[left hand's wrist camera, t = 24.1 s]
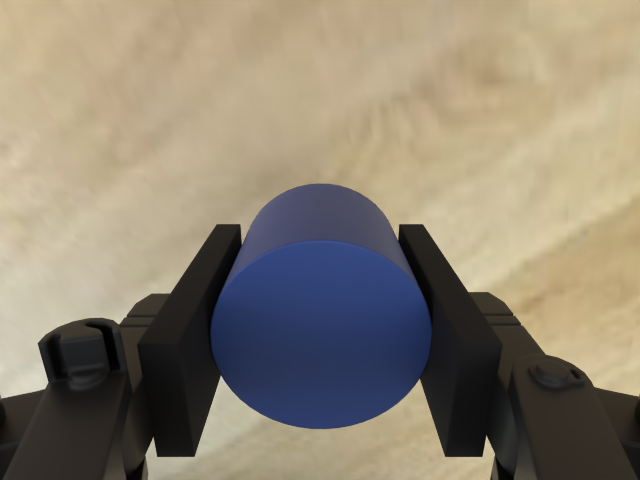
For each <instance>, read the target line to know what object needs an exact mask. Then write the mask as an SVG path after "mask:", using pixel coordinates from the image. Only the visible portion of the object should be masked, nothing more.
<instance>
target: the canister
mask: <svg viewBox="0 0 640 480" xmlns="http://www.w3.org/2000/svg"><path fill="white" fill-rule="evenodd" d="M431 336H432V321H431V315H430V312H429V309H428V306H427V303H426V300H425V298H424V296H423V294H422V292H421V290H420V287H419V285H418V283H417V281H416V279H415V277H414V274H413V272H412V270H411V268H410V266H409V264H408V261H407V259H406V257H405V255H404V253H403V251H402V248H401V246H400V244H399V242H398V240H397V238H396V235H395V233H394V231H393V229H392V227H391V225H390V223H389V221H388V219H387V218H386V216H385V215H384V214H383V212H382V211H381V210H380V209H379V208H378V207H377V206H376V205H375V204H374V203H373V202H372V201H371V200H369V199H368V198H367V197H365V196H363V195H362V194H360V193H358V192H356V191H354V190H351V189H349V188H346V187H342V186H338V185H332V184H309V185H304V186H300V187H296V188H293V189H291V190H288V191H286V192H284V193H282V194H280V195H278V196H277V197H276V198H274V199H273V200H271V201H270V202H269V203H268V204H267V205H266V206H265V207H264V208H263V209H262V210H261V211H260V212H259V213H258V215H257V216H256V218H255V219H254V221H253V223H252V224H251V227H250V229H249V231H248V233H247V235H246V238H245V240H244V242H243V244H242V247H241V249H240V251H239V253H238V256H237V258H236V260H235V262H234V264H233V267H232V269H231V271H230V273H229V276H228V278H227V280H226V282H225V285H224V287H223V289H222V291H221V293H220V296H219V298H218V300H217V303H216V305H215V308H214V311H213V315H212V319H211V328H210V340H211V348H212V353H213V357H214V360H215V363H216V365H217V368H218V370H219V372H220V374H221V376H222V377H223V379H224V381H225V382H226V384H227V385H228V386H229V388H230V389H231V390H232V391H233V392H234V393H235V394H236V395H237V396H238V397H239V398H240V399H241V400H242V401H243V402H244V403H246V404H247V405H248V406H249V407H251V408H252V409H254V410H255V411H257V412H259V413H260V414H262V415H264V416H266V417H268V418H270V419H273V420H275V421H278V422H281V423H284V424H288V425H292V426H296V427H302V428H310V429H331V428H341V427H346V426H351V425H355V424H358V423H362V422H365V421H367V420H369V419H372V418H374V417H376V416H378V415H380V414H382V413H384V412H386V411H387V410H389V409H390V408H392V407H393V406H394V405H396V404H397V403H398V402H400V401H401V400H402V399H403V398H404V397H405V396H406V395H407V394H408V393H409V392H410V391H411V389H412V388H413V387H414V386H415V385H416V383H417V382H418V380H419V378H420V377H421V375H422V373H423V371H424V369H425V367H426V365H427V362H428V359H429V354H430V345H431Z"/></svg>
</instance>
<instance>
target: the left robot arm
mask: <svg viewBox="0 0 640 480" xmlns="http://www.w3.org/2000/svg"><path fill="white" fill-rule="evenodd" d="M398 242H399V244H400V246H401V248H402V251H403V253H404V255H405V257H406V259H407V261H408V264H409V266H410V268H411V270H412V272H413V274H414V277H415V279H416V281H417V283H418V285H419V287H420V290H421V292H422V294H423V296H424V298H425V300H426V303H427V306H428V309H429V312H430V315H431V321H432V336H431V345H430V354H429V359H428V362H427V365H426V367H425V369H424V371H423V373H422V375H421V377H420V380H421V383H422V387H423V390H424V393H425V396H426V399H427V402H428V405H429V408H430V411H431V414H432V417H433V420H434V424H435V427H436V430H437V433H438V436H439V439H440V442H441V445H442V448H443V451H444V454H445V457H482V456H483V451H484V445H485V440H486V435H487V437H488V439H489V442H490V444H491V446H492V448H493V450H494V452H495V457H494V462H493V468H492V473H491V478H490V480H640V395H639V397H637V396H633V395H628V394H623V393H618V392H613V391H608V390H603V389H600V388H596V387H594V386H593V384H592V382H591V381H590V379H589V378H588V377H587V375H586V374H585V373H584V372H583V371H582V370H580V369H579V368H577V367H576V366H575V365H573V364H571V363H569V362H567V361H564V360H562V359H560V358H557V357H553V356H549V355H546V354H545V353H544V352H543V351H542V349H541V348H540V347H539V346H538V344H537V343H536V342H535V340H534V339H533V338H532V337H531V335H530V334H529V333H528V332H527V330H526V329H525V328H524V327H523V326H521V323H520V322H519V320H518V319H517V318H516V317H515V316H513V313H512V312H511V310H510V309H509V308H508V307H507V305H506V304H505V303H504V302H503V301H501V300H500V299H498V298H497V297H495V296H493V295H492V294H490V293H489V292H468V291H467V290H466V288H465V287H464V285H463V284H462V282H461V281H460V279H459V278H458V276H457V275H456V273H455V272H454V270H453V269H452V267H451V266H450V264H449V263H448V261H447V260H446V258H445V257H444V255H443V254H442V252H441V251H440V249H439V248H438V246H437V245H436V243H435V242H434V240H433V239H432V237H431V236H430V234H429V233H428V231H427V230H426V228H425V227H424V225H423V224H399V237H398ZM241 247H242V241H241V227H240V224H217V225H216V226H215V228H214V229H213V231H212V232H211V234H210V235H209V237H208V238H207V240H206V241H205V243H204V244H203V246H202V247H201V249H200V250H199V252H198V253H197V255H196V256H195V258H194V259H193V261H192V262H191V264H190V265H189V267H188V268H187V270H186V271H185V273H184V274H183V276H182V277H181V279H180V280H179V282H178V283H177V285H176V286H175V288H174V289H173V291H172V292H171V294H150V295H149V296H147V297H146V298H144V299H142V300H141V301H139V302H138V303H136V304H135V305H134V307H133V308H132V309H131V310H130V312H129V313H128V314H127V318H124V319H123V321H122V322H121V323H120V324H117V323H116V322H115V321H113V320H110V319H105V318H88V319H83V320H78V321H73V322H71V323H68V324H65V325H63V326H60V327H58V328H56V329H54V330H53V331H51V332H50V333H48V334H46V335H45V336H44V337H43V338H42V339H41V340H40V341H39V343H38V346H39V350H40V353H41V357H42V360H43V364H44V367H45V371H46V375H47V378H48V382H49V383H48V385H47V387H46V389H44V390H40V391H36V392H32V393H27V394H22V395H17V396H12V397H7V398H2V399H1V396H0V480H148V469H147V462H146V457H145V454H146V452H147V450H148V447H149V445H150V443H151V441H152V439H153V436H154V441H155V447H156V452H157V457H195V453H196V450H197V447H198V444H199V441H200V438H201V435H202V432H203V429H204V426H205V423H206V420H207V416H208V413H209V410H210V407H211V404H212V401H213V398H214V395H215V392H216V389H217V386H218V383H219V379H220V376H221V374H220V372H219V370H218V368H217V365H216V363H215V360H214V357H213V353H212V348H211V340H210V328H211V319H212V315H213V311H214V308H215V305H216V303H217V300H218V298H219V296H220V293H221V291H222V289H223V287H224V285H225V282H226V280H227V278H228V276H229V273H230V271H231V269H232V267H233V264H234V262H235V260H236V258H237V256H238V253H239V251H240V249H241Z"/></svg>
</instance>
